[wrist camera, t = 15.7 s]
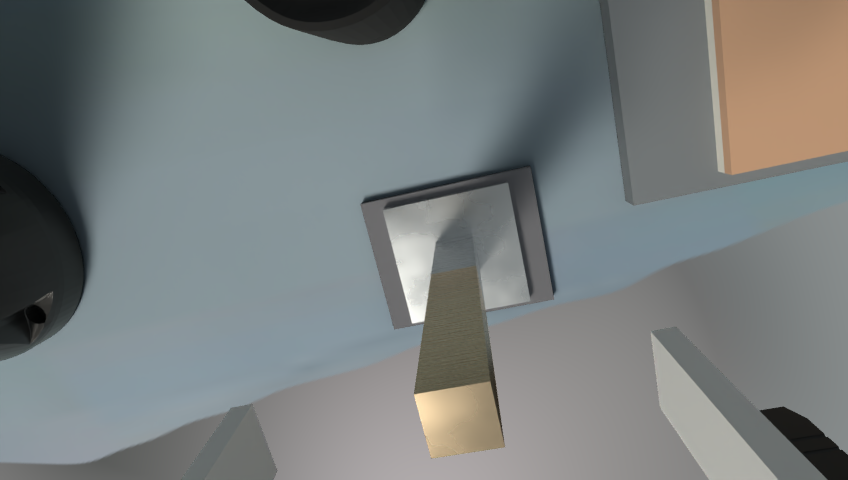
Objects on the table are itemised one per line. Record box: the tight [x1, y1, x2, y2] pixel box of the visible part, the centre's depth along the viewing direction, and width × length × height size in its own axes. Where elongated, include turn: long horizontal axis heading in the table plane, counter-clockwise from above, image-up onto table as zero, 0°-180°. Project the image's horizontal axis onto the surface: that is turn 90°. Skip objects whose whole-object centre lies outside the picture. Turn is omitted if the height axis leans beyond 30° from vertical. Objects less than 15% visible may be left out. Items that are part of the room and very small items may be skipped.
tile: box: [704, 0, 848, 175], centre depth 26 cm, size 2×10×10 cm
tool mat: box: [360, 166, 554, 329], centre depth 33 cm, size 11×9×1 cm
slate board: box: [600, 0, 848, 205], centre depth 28 cm, size 16×12×2 cm
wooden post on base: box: [383, 181, 531, 458], centre depth 24 cm, size 8×8×18 cm
